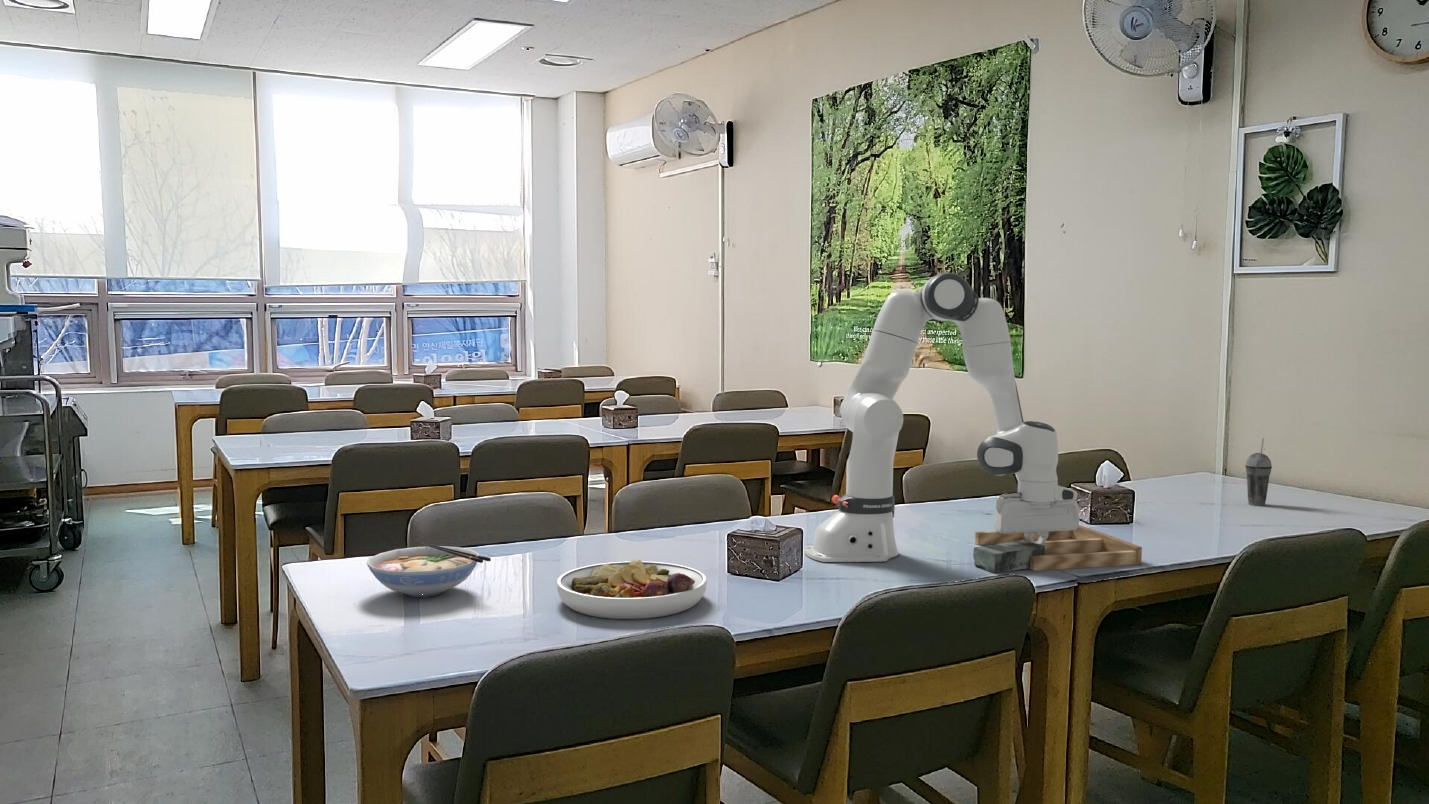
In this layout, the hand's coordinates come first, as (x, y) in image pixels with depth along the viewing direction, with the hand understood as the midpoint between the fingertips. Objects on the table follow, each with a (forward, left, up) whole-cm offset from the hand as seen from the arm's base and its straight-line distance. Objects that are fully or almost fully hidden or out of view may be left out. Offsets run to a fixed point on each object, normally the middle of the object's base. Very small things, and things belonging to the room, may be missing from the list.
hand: (1036, 550), depth 254 cm
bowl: (-97, -12, -3) cm, 98 cm away
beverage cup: (+102, +51, -3) cm, 114 cm away
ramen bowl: (-138, +4, -3) cm, 138 cm away
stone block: (-9, -2, -3) cm, 9 cm away
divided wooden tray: (+9, +7, -3) cm, 11 cm away
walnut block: (+9, +13, -3) cm, 16 cm away
